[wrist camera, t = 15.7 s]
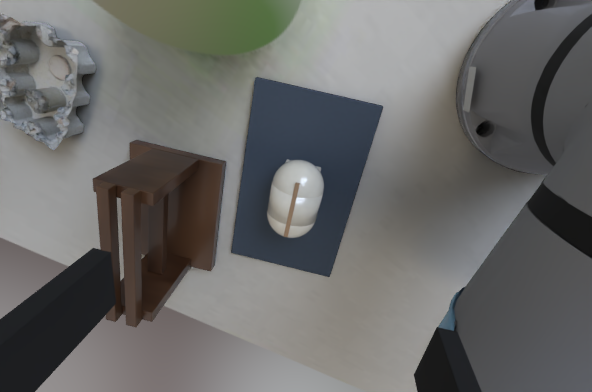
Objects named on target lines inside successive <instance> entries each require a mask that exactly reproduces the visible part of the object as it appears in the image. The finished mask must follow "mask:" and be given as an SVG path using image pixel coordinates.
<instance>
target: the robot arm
mask: <svg viewBox="0 0 592 392" xmlns="http://www.w3.org/2000/svg"><path fill="white" fill-rule="evenodd" d="M456 102H457V111H458V116H459V120H460V123H461V126H462V128H463V130H464V132H465V134H466V136H467V137H468V139H469V140H470V141H471V143H472V144H473V145H474V146H475V147H476V148H477V149H478V150H479V151H481V152H482V153H483V154H485V155H486V156H487V157H489V158H490V159H492V160H493V161H495V162H496V163H498V164H500V165H502V166H504V167H507V168H509V169H512V170H516V171H519V172H525V173H533V174H545V175H547V176H546V178H545V179H544V180H543V182H542V184H541V185H540V186H539V188H538V189H537V190H536V192H535V193H534V195H533V196H532V197H531V199H530V200H529V201H528V202H527V203H526V204H525V206H524V207H523V208H522V210H521V211H520V213H519V214H518V215H517V217H516V218H515V219H514V221H513V222H512V224H511V225H510V226H509V228H508V229H507V230H506V232H505V233H504V235H503V236H502V237H501V239H500V240H499V241H498V243H497V244H496V246H495V247H494V248H493V250H492V251H491V253H490V254H489V255H488V257H487V258H486V259H485V261H484V262H483V264H482V265H481V266H480V268H479V269H478V270H477V272H476V273H475V275H474V276H473V277H472V279H471V280H470V281H469V283H468V284H467V286H466V287H464V288H462V289H461V290H460V291H459V292H457V293H456V294H455V295H454V297H453V299H452V300H451V303H450V307H449V311H448V312H447V314H446V315H445V317H444V319H443V320H442V322H441V323H440V325H439V327H437V328H436V330H435V332H434V335H433V337H432V339H431V341H430V343H429V345H428V347H427V349H426V351H425V353H424V355H423V357H422V359H421V361H420V363H419V365H418V367H417V370H416V372H415V374H414V377H415V382H416V386H417V391H418V392H592V0H512V1H510V2H509V3H508V4H507V5H505V6H504V7H503V8H502V9H501V10H500V11H499V12H498V13H497V14H495V15H494V16H493V17H492V19H491V20H490V21H489V22H488V23H487V24H486V25H485V27H484V28H483V29H482V30H481V32H480V33H479V34H478V36H477V37H476V39H475V40H474V42H473V44H472V45H471V47H470V49H469V51H468V53H467V55H466V57H465V60H464V62H463V65H462V68H461V71H460V75H459V79H458V84H457V94H456ZM115 304H116V297H115V287H114V277H113V267H112V257H111V252H108V251H103V250H99V249H95V248H93V249H91V250H90V251H89V252H88V253H86V254H85V255H84V256H82V257H81V258H80V259H78V260H77V261H76V262H74V263H73V264H72V265H71V266H69V267H68V268H67V269H65V270H64V271H63V272H61V273H60V274H59V275H58V276H56V277H55V278H54V279H52V280H51V281H50V282H48V283H47V284H46V285H44V286H43V287H42V288H41V289H39V290H38V291H37V292H35V293H34V294H33V295H31V296H30V297H29V298H28V299H26V300H25V301H24V302H23V303H21V304H20V305H18V306H17V307H16V308H14V309H13V310H12V311H11V312H9V313H8V314H7V315H5V316H4V317H3V318H1V319H0V392H35V391H36V390H37V389H38V388H39V387H40V385H41V384H42V383H43V382H44V381H45V380H46V379H47V378H48V377H49V376H50V375H51V374H52V373H53V371H54V370H55V369H56V368H57V367H58V366H59V365H60V364H61V363H62V362H63V361H64V360H65V358H66V357H67V356H68V355H69V354H70V353H71V352H72V351H73V350H74V349H75V348H76V347H77V345H78V344H79V343H80V342H81V341H82V340H83V339H84V338H85V337H86V336H87V335H88V333H89V332H90V331H91V330H92V329H93V328H94V327H95V326H96V325H97V324H98V323H99V322H100V320H101V319H102V318H103V317H104V316H105V315H106V314H107V313H108V312H109V311H110V310H111V309H112V307H113V306H114V305H115Z"/></svg>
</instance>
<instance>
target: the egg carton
mask: <svg viewBox="0 0 592 392" xmlns="http://www.w3.org/2000/svg"><path fill="white" fill-rule="evenodd" d="M95 71H96V64H95V63H94V62H93V61H92V59H91V57H90V56H89V53H88V50H87V47H86V46H85V45H84V44H82V43H81V42H80V41H68V40H61V39H58V38H57V37H56V35H55V29H54V28H53V27H52V26H50V25H49V24H46V23H37V22H27V21H24V22H23V23H20V22H18V21H16V20H14V19H13V18H11V17H8V16H6V15H4V14H0V94H1V96H2V99H1V101H2V103H3V104H4V105H5V108H3V109H2V110H1V116H2V118H1V119H2V120H5V121H10V122H12V123H14V124H15V125H14V126H13V127H15V128H16V129H20V130H23V131H24V132H25V133H26V134H27V135H30V136H32V137H33V138H34V139H35V140H36V141H40V142H44V143H45V144H46V145H47V146H48V147H50V148H51V149H52V150H54V149H56V147H57V146H58V145H59V144H60V142H61V141H62V139H64V138H68V137H70V136H73V135H76V134H79V133H82V132H83V129H84V124H83V123H82V122H81V121H80V120H79V118H78V117H77V116H76V108H77V106H82V105H87V104H89V102H90V95H89V94H88V93H87V92H86V91H85V89H84V87H83V85H82V76H83V75H84V74H91V73H95Z"/></svg>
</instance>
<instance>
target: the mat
mask: <svg viewBox="0 0 592 392" xmlns="http://www.w3.org/2000/svg"><path fill="white" fill-rule="evenodd" d="M382 109H383V106H381V105H376V104H372V103H368V102H363V101H359V100H355V99H350V98H346V97H342V96H337V95H333V94H329V93H324V92H320V91H315V90H311V89H307V88H302V87H298V86H294V85H289V84H285V83H281V82H276V81H272V80H268V79H263V78H259V77H256V78H255V85H254V93H253V100H252V107H251V114H250V121H249V128H248V136H247V143H246V150H245V157H244V164H243V172H242V179H241V186H240V193H239V200H238V207H237V215H236V222H235V229H234V236H233V243H232V250H231V253H235V254H239V255H243V256H247V257H251V258H255V259H259V260H263V261H267V262H271V263H275V264H279V265H283V266H287V267H291V268H295V269H299V270H303V271H307V272H311V273H315V274H319V275H323V276H327V277H330V274H331V271H332V268H333V264H334V261H335V258H336V255H337V252H338V249H339V245H340V242H341V239H342V236H343V233H344V230H345V226H346V223H347V220H348V217H349V214H350V210H351V207H352V204H353V201H354V198H355V195H356V191H357V188H358V185H359V182H360V179H361V176H362V172H363V169H364V166H365V163H366V160H367V156H368V153H369V150H370V147H371V144H372V141H373V137H374V134H375V131H376V128H377V125H378V122H379V118H380V115H381V112H382ZM287 159H288V160H305V161H308V162H310V163H312V164H313V165H315V166H317V167H321V174H322V176H323V180H324V192H323V196H322V200H321V203H320V207H319V211H318V215H317V218H316V221H315V224H314V226H313V227H312V229H311V230H310V231H309V232H308V233H306V234H305V235H303V236H301V237H297V238H287V237H283V236H281V235H279V234H278V233H276V232H275V231H274V230H273V229H272V227H271V226H270V224H269V222H268V218H267V207H268V201H269V196H270V191H271V185H272V180H273V177H274V174H275V173H276V171H277V170H278V169H279V167H280V166H282V165H283V164H284V163H285V162H286V160H287Z"/></svg>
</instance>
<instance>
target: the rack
mask: <svg viewBox="0 0 592 392" xmlns="http://www.w3.org/2000/svg"><path fill="white" fill-rule="evenodd" d="M225 166H226V161H222V160H218V159H213V158H209V157H205V156H201V155H197V154H193V153H188V152H184V151H180V150H176V149H172V148H168V147H163V146H159V145H155V144H151V143H147V142H142V141H138V140H135V141H133V142H130V160H129V161H127V162H125V163H123V164H121V165H119V166H117V167H115V168H113V169H111V170H109V171H107V172H105V173H103V174H101V175H99V176H97V177H95V178H93V188H94V192H96V194H97V207H98V221H99V234H100V247H101V250H103V251H108V252H111V257H112V267H113V277H114V287H115V297H116V304H115V305H114V306H113V307H112V309H111V310H110V311H109V312H108V313H107V314H106V319H107V320H111V321H115V322H116V321H117V320H118V318H119V317H120V316H121V315H122V314H124V315H126V325H129V326H133V327H137V325H138V324H139V323H140V321H141V320H142V319H144V320H147V321H151V322H152V321H153V320H154V318H155V317H156V315H157V314H158V312H159V311H160V310H161V308H162V307H163V305H164V304H165V302H166V301H167V300H168V298H169V297H170V295H171V294H172V293H173V291H174V290H175V288H176V287H177V285H178V284H179V283H180V281H181V280H182V278H183V277H184V275H185V274H186V273H187V271H188V270H189V268H190V267H195V268H199V269H203V270H207V271H211V270H212V268H213V267H214V263H215V254H216V245H217V236H218V228H219V219H220V210H221V201H222V192H223V184H224V175H225ZM117 198H121V206H122V232H123V257H124V278H123V279H122V280H121V281H120V262H119V240H118V219H117ZM141 254H144V255H145V257H144V258H143V259H142V260H141Z"/></svg>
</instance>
